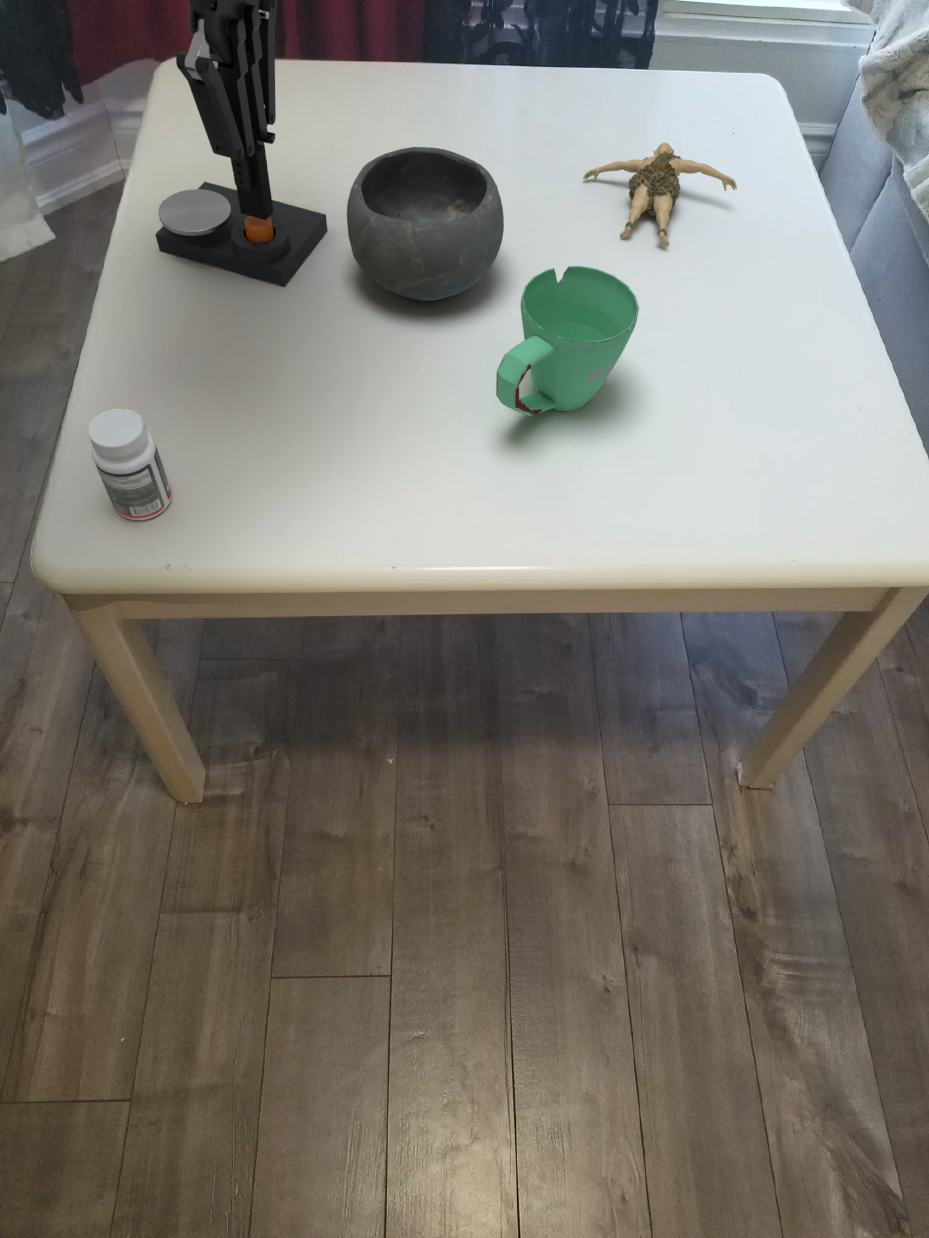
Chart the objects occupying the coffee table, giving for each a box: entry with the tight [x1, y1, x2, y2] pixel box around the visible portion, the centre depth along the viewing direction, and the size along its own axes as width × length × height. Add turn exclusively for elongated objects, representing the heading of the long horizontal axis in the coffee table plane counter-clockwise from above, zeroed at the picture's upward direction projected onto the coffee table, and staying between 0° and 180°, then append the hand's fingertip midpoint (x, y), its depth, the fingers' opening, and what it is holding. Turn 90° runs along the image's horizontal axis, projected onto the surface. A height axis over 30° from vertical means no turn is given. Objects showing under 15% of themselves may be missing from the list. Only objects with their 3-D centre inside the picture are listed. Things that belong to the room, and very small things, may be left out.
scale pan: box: [157, 188, 232, 236], centre depth 90 cm, size 7×7×1 cm
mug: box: [495, 265, 640, 417], centre depth 79 cm, size 15×10×10 cm
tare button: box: [244, 216, 274, 242], centre depth 89 cm, size 3×3×2 cm
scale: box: [154, 181, 328, 287], centre depth 92 cm, size 14×10×4 cm
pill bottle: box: [87, 408, 172, 521], centre depth 71 cm, size 5×5×8 cm
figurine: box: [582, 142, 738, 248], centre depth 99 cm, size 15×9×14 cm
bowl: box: [346, 146, 505, 301], centre depth 88 cm, size 15×15×10 cm
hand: (257, 212), depth 87 cm, fingers closed
